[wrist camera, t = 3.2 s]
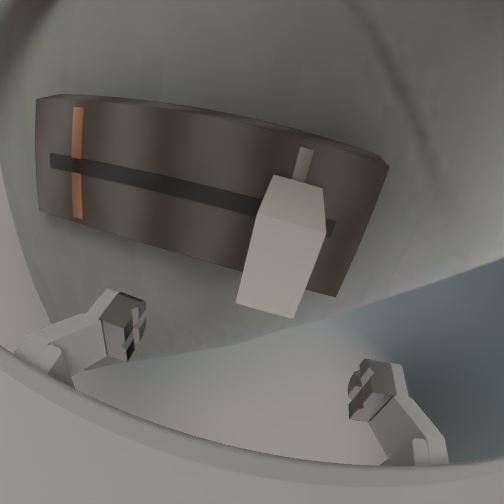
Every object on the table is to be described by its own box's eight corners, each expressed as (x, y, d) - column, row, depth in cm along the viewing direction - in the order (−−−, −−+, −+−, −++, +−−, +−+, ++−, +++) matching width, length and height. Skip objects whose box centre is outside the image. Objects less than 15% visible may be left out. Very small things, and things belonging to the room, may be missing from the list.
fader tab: (322, 188, 18) (326, 233, 13) (299, 258, 21) (293, 319, 16) (273, 174, 18) (257, 213, 13) (255, 245, 21) (235, 303, 16)
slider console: (379, 155, 19) (389, 167, 17) (334, 274, 25) (335, 298, 22) (60, 94, 21) (35, 99, 18) (59, 197, 26) (38, 210, 23)
